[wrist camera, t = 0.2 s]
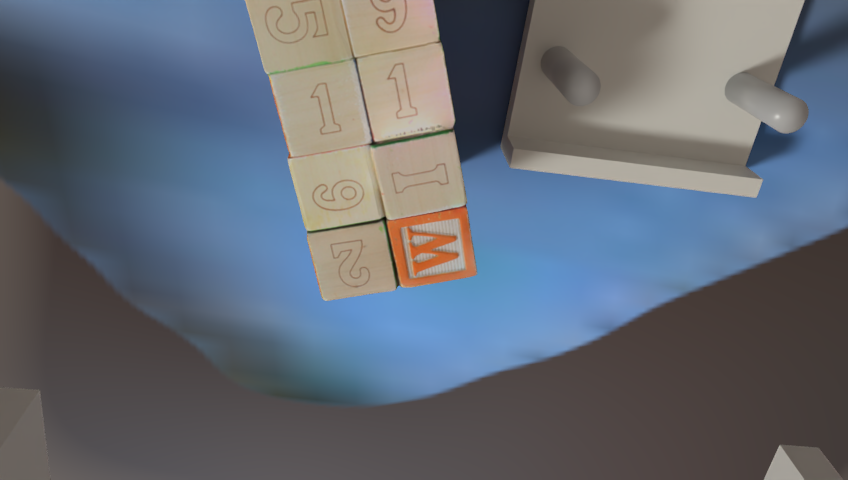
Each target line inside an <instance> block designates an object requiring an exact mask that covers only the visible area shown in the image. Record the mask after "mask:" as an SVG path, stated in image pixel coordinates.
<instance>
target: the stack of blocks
mask: <svg viewBox="0 0 848 480" xmlns="http://www.w3.org/2000/svg"><path fill="white" fill-rule="evenodd" d="M245 1H246V5H247V8H248V12H249V16H250V19H251V23H252V27H253V30H254V34H255V38H256V41H257V45H258V48H259V52H260V56H261V59H262V63H263V67H264V70H265V72H266V73H267V75H268V76H269V79H270V83H271V87H272V92H273V96H274V100H275V103H276V107H277V111H278V114H279V118H280V121H281V125H282V129H283V133H284V137H285V140H286V144H287V148H288V151H289V156H288V164H289V168H290V172H291V175H292V179H293V183H294V187H295V190H296V194H297V198H298V201H299V205H300V209H301V213H302V217H303V221H304V225H305V228H306V230H307V241H308V245H309V248H310V252H311V256H312V261H313V265H314V269H315V273H316V277H317V281H318V285H319V289H320V292H321V296H322V298H323V300H326V301H329V300H335V299H341V298H347V297H354V296H360V295H366V294H373V293H380V292H387V291H394V290H396V288H397V287H398V286H399V285H400V286H401V287H416V286H421V285H427V284H433V283H439V282H444V281H450V280H455V279H461V278H467V277H471V276H474V275H477V268H476V262H475V256H474V249H473V243H472V237H471V230H470V224H469V217H468V211H467V207H466V203H467V198H466V192H465V187H464V181H463V176H462V170H461V164H460V159H459V153H458V148H457V142H456V137H455V132H454V128H453V127H454V125H455V120H456V119H455V114H454V107H453V102H452V98H451V91H450V85H449V79H448V73H447V68H446V62H445V56H444V51H443V47H442V44H441V40H440V33H439V26H438V21H437V15H436V9H435V4H434V0H245Z"/></svg>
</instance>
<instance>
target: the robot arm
mask: <svg viewBox="0 0 848 480" xmlns="http://www.w3.org/2000/svg"><path fill="white" fill-rule="evenodd" d="M0 480H51V479H50V471H49V463H48V455H47V446H46V438H45V430H44V421H43V413H42V405H41V397H40V390H31V389H19V388H5V387H0ZM764 480H843V479H842V478H841V477H840V475H839V474H838V472H836V470H835V469H834V467H833V466H832V465H831V464H830V462H829V461H828V460H827V458H826V457H825V456H824V454H823V453H822V452H821V450H820V449H819V448H817V447H803V446H790V445H780V446H779V448H778V450H777V452H776V454H775V456H774V459H773V461H772V463H771V465H770V468H769V470H768V472H767V474H766V476H765V478H764Z"/></svg>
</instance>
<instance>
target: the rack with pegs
mask: <svg viewBox="0 0 848 480" xmlns="http://www.w3.org/2000/svg"><path fill="white" fill-rule="evenodd" d="M804 1H805V0H530V1H529V6H528V11H527V16H526V21H525V26H524V31H523V36H522V41H521V46H520V51H519V56H518V61H517V66H516V71H515V76H514V81H513V86H512V91H511V96H510V101H509V106H508V111H507V116H506V121H505V126H504V131H503V136H502V141H501V146H500V147H501V149H502V152H503V154H504V156H505V158H506V160H507V163H508V165H509V167H510V168H516V169H524V170H533V171H541V172H549V173H557V174H566V175H574V176H582V177H590V178H599V179H607V180H615V181H623V182H632V183H640V184H648V185H656V186H665V187H673V188H681V189H689V190H698V191H706V192H714V193H722V194H731V195H739V196H747V197H755V198H756V197H757V195H758V192H759V189H760V187H761V184H762V181H763V179H762V178H760V177H759V176H758V175H756V174H755V173H754V172H753V171H751V170H750V169H749V168H747V167H746V166H745V165H746V163H747V160H748V157H749V154H750V152H751V149H752V146H753V143H754V140H755V138H756V135H757V132H758V129H759V126H760V124H761V121H762V122H764V123H766V124H767V125H769V126H771V127H772V128H774V129H775V130H777V131H779V132H781V133H792V132H795V131H797V130H798V129H800V128H801V127H802V126H803V125H804V123H805V122H806V120H807V118H808V112H809V111H808V106H807V104H806V103H805V102H804V101H803V100H801V99H799V98H797V97H795V96H793V95H791V94H789V93H787V92H785V91H783V90H781V89H779V88H777V87H775V86H774V85H775V82H776V79H777V76H778V73H779V71H780V68H781V65H782V62H783V59H784V57H785V54H786V51H787V48H788V45H789V43H790V40H791V37H792V34H793V32H794V29H795V26H796V23H797V20H798V18H799V15H800V12H801V9H802V6H803V4H804Z"/></svg>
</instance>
